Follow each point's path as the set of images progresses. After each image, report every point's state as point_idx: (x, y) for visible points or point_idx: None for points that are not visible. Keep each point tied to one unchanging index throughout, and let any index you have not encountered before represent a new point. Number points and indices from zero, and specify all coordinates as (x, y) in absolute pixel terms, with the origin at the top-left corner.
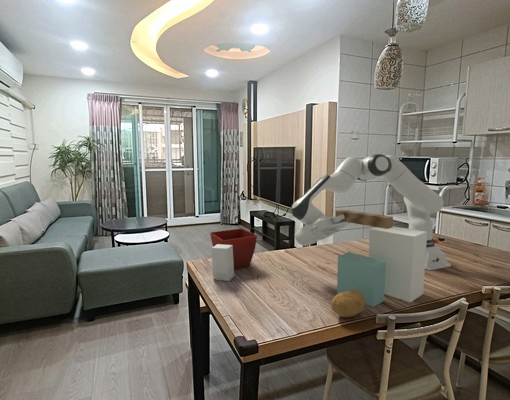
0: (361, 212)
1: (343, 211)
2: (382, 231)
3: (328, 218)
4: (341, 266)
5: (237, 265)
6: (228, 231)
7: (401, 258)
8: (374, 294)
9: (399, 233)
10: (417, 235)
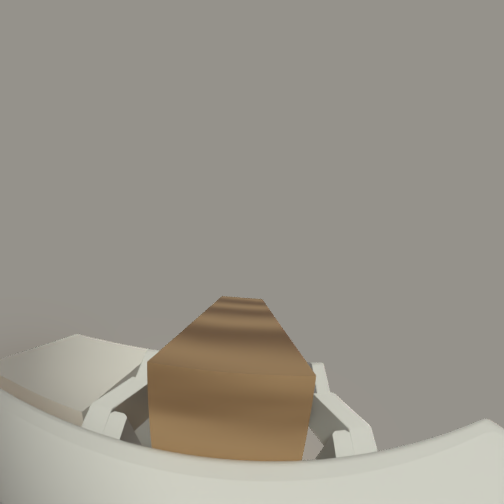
0: (210, 313)
1: (284, 342)
2: (113, 387)
3: (440, 435)
4: None
5: None
6: None
7: (148, 429)
8: None
9: (131, 362)
10: (133, 347)
